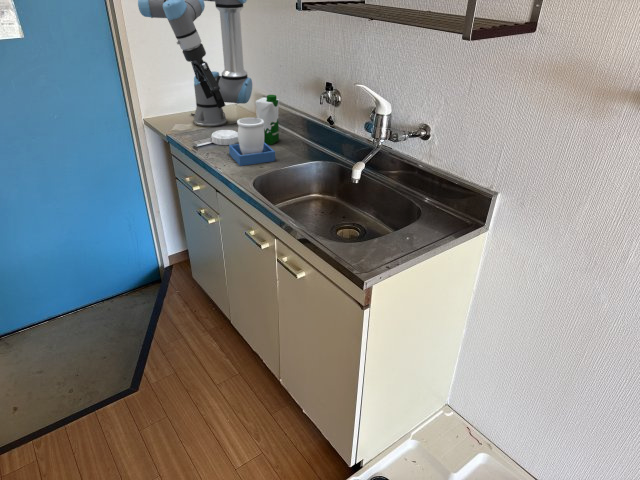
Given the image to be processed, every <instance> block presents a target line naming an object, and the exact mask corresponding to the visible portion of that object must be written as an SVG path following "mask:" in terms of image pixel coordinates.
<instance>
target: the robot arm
mask: <svg viewBox="0 0 640 480" xmlns="http://www.w3.org/2000/svg"><path fill="white" fill-rule="evenodd" d="M247 1H248V0H137V7H138V11H139V13H140V14H141V15H142V16H143V17H145V18H150V19H154V18H155V19H167V21H168V22H169V25H170V27H171V30H172V31H173V34H174V36H175V39H176V45H179V47H180V49H181V50H182V54H183V56H184V59H185V61H186V62H189V63H190V64H191V67H192V70H193V73H194V77H193V88H194V96H195V104H196V107H195V112H194V113H190V115H191V116H193V123H194V125H196V126H198V127H203V128H214V127H216V128H217V127H220V126H224V125H225V124H227V117H226V114H225V112H224V110H223V108H224V107H226V103H229V104H238V105H239V104H243V105H244V104H247V103H248V102H249V101H250V99H251V96H252V92H253V79H252V78H251V77H248V72H247V71H246V70H245V69H244V68H245V67H244V53H243V37H242V22H241V21H242V19H241V11H242V10H243V9H244V5H245V4H246V3H247ZM205 2H214V3H215V5H214V6H215V8H216V9H217V10H218V12H219V18H220V19H219V20H220V21H219V22H220V32H221V33H220V34H221V42H222V43H221V44H222V55H223V68H224V70H223V71H222V72H221V75H220V72H219V71H211V69H210V67H209V64H208V62H207V61H205V60H204V59H203V58H204V57H205V56H207V55H206V54H207V52H206V49H205V46H204V44H203V43H202V39H201V37H200V34H199V32H198V30H197V28H196V26H195V23H194V22H195V21H196V20H197V19H198V18H199V17H201V16H202V13H203V12H204V10H205Z"/></svg>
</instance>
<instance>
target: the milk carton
mask: <svg viewBox="0 0 640 480" xmlns="http://www.w3.org/2000/svg"><path fill="white" fill-rule="evenodd" d="M254 104H255V111H256V118H260V119H262V120H264V124H263V128H264V142H265V143H266V144H267V145H271V146H272V145H274V144H276V142H279V140H280V131H279V130H280V129H279V126H280V125H279V107H280V99H278V98H277V95H276V94H267V95H266V97H261V98H259V99H257V100H255V101H254Z"/></svg>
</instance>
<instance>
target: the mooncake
mask: <svg viewBox="0 0 640 480" xmlns="http://www.w3.org/2000/svg"><path fill="white" fill-rule="evenodd" d="M210 135H211V142H212V143H213V144H214V145H217V146H229V145H234V144H239V141H238V131H237V130H233V129H219V130H216V131H213V132H212V134H210Z"/></svg>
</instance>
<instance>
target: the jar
mask: <svg viewBox="0 0 640 480" xmlns="http://www.w3.org/2000/svg"><path fill="white" fill-rule="evenodd" d="M263 124H264V120H262V119H260V118H257V117H243V118H239V119H237V120H236V125H238V128H237V132H238V141H239V142H238V144H239V145H240V150H241V152H242V154H241V155H247V154H254V153H262V152H263V146H264V128H263Z"/></svg>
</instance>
